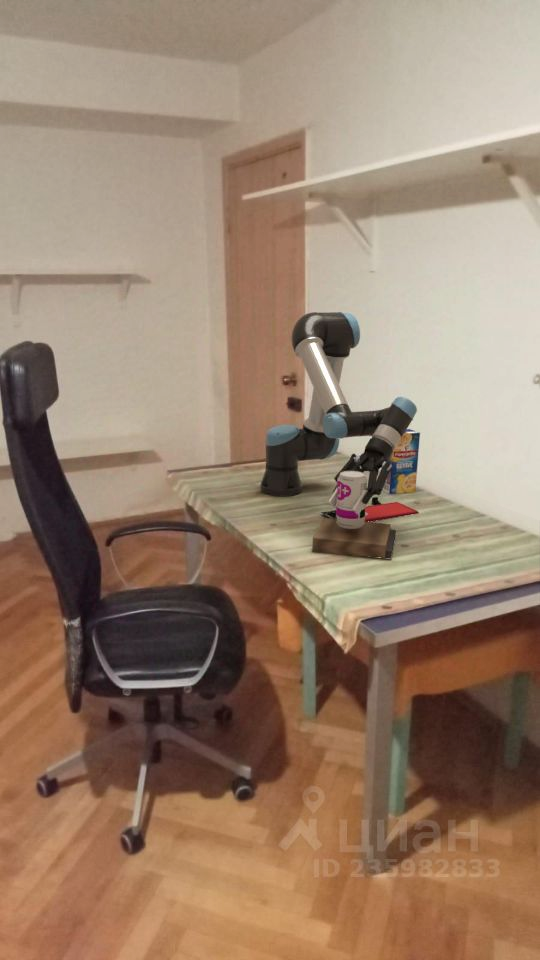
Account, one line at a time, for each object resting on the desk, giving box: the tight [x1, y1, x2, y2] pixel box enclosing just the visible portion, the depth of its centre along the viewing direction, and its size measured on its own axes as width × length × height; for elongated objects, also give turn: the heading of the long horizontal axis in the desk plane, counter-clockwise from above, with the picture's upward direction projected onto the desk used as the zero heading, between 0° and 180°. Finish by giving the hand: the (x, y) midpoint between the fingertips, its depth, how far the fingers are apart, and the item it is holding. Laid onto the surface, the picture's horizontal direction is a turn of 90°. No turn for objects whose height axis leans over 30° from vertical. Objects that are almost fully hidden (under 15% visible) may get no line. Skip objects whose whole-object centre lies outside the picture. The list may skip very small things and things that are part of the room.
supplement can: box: [335, 471, 368, 529], centre depth 188 cm, size 8×8×15 cm
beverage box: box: [380, 428, 421, 495], centre depth 243 cm, size 7×11×22 cm, turn 111°
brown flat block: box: [311, 517, 397, 559], centre depth 191 cm, size 22×18×4 cm
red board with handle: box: [320, 496, 420, 522], centre depth 219 cm, size 30×3×15 cm
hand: (343, 508), depth 187 cm, fingers closed on supplement can, 8 cm apart
